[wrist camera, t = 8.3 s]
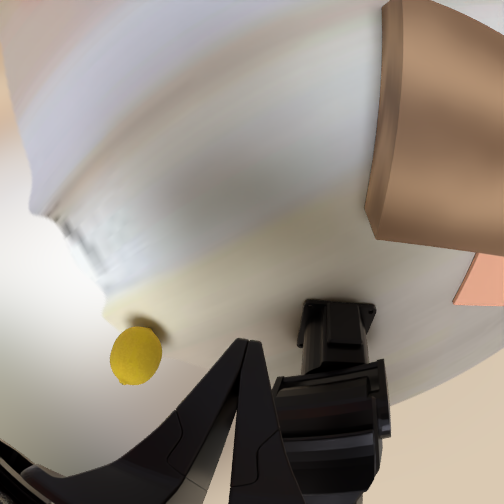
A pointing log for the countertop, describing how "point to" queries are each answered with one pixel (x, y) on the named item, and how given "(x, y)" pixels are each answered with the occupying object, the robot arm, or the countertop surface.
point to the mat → (483, 282)
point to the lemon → (135, 355)
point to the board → (439, 131)
